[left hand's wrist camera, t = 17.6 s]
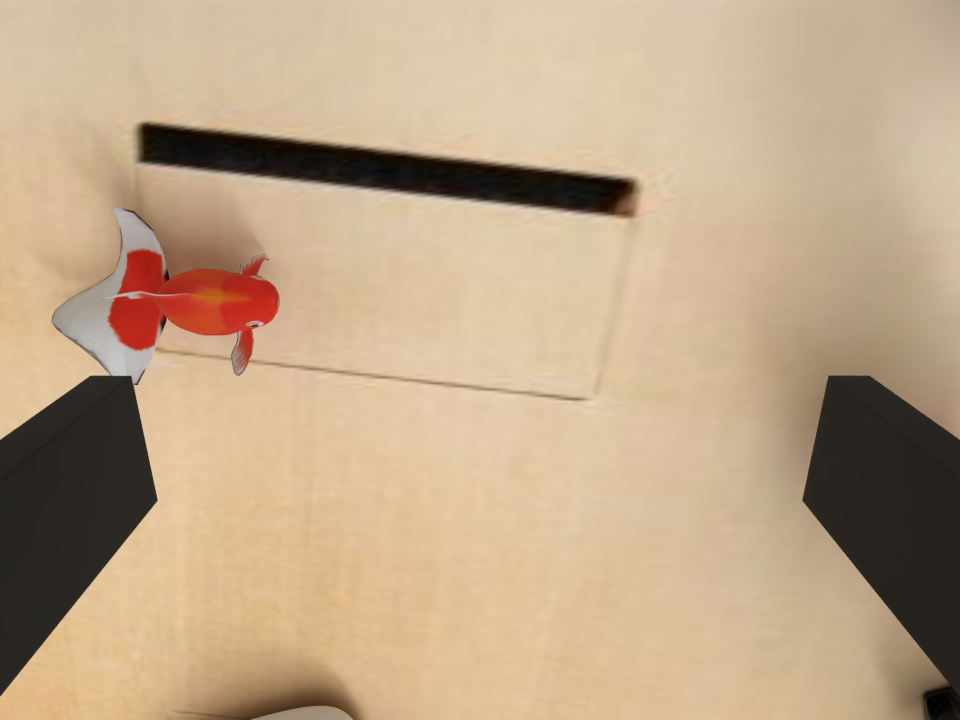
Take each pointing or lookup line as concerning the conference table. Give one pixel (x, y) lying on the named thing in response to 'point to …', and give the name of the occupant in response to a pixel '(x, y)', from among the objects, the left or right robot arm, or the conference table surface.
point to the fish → (163, 304)
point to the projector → (308, 714)
